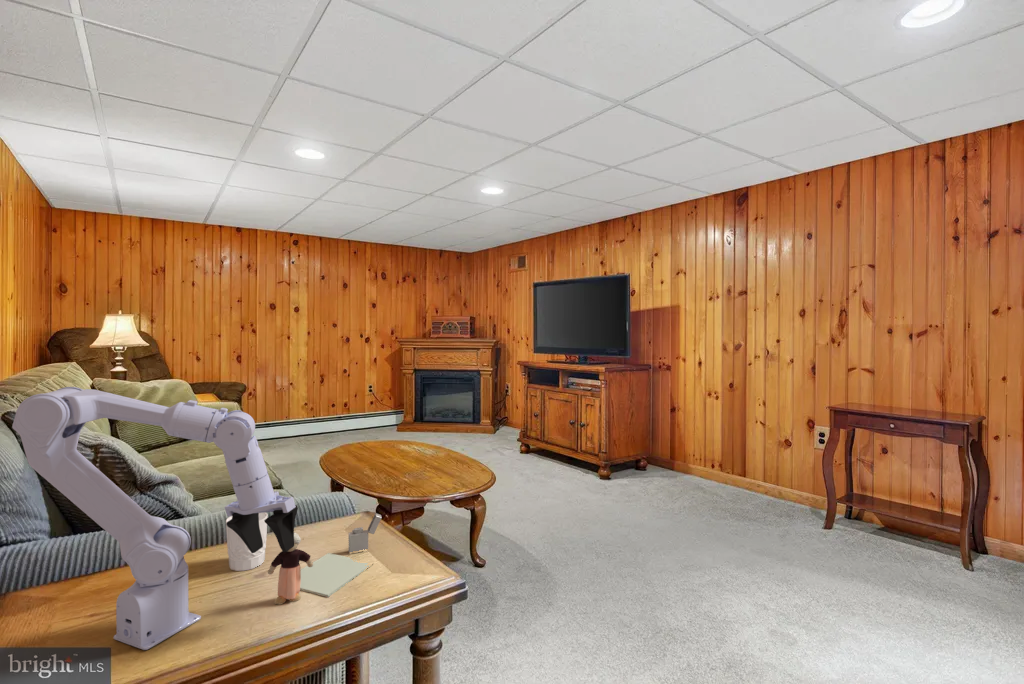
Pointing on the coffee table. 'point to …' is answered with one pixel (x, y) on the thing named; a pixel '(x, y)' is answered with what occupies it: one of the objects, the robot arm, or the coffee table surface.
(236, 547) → the white cup
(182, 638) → the coffee table surface
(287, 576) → the grandmother figurine
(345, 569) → the mat
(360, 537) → the lighter
